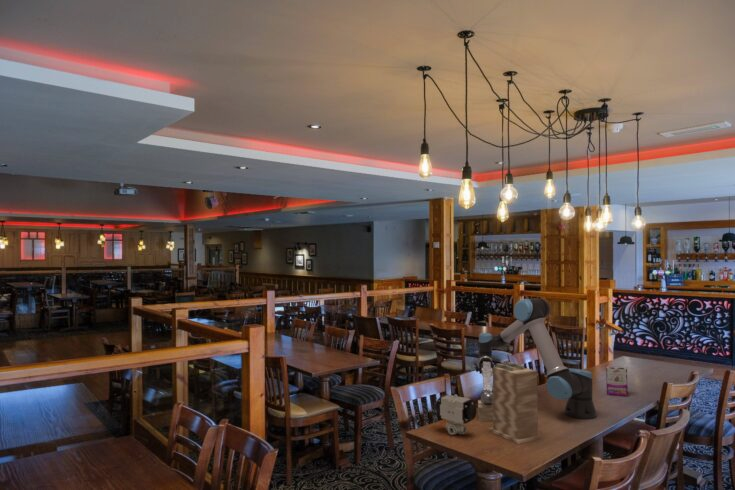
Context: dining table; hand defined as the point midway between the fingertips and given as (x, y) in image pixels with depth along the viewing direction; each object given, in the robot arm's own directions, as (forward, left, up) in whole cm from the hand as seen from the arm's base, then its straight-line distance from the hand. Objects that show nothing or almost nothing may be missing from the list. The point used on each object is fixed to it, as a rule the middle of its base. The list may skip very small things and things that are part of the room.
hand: (487, 373), depth 266 cm
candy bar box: (-49, -76, -21) cm, 92 cm away
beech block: (-3, +7, -20) cm, 22 cm away
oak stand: (-24, +23, -20) cm, 39 cm away
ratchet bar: (0, +1, -6) cm, 6 cm away
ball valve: (-1, +38, -21) cm, 44 cm away
